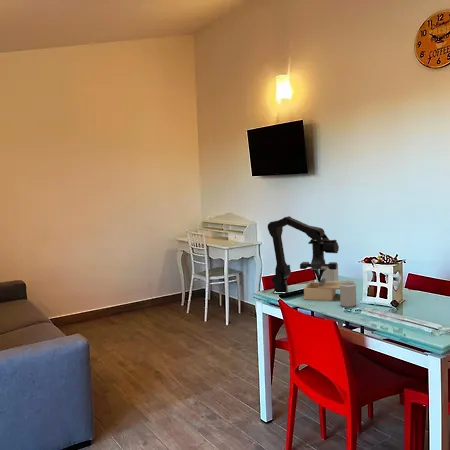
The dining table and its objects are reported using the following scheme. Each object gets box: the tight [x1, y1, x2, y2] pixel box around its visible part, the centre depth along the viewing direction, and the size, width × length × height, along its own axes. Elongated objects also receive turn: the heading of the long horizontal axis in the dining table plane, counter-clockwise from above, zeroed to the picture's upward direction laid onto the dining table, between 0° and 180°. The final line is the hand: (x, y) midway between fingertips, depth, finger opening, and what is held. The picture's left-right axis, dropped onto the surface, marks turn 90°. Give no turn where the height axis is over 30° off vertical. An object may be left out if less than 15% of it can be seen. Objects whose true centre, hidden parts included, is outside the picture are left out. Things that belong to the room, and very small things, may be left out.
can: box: [339, 279, 357, 308], centre depth 230 cm, size 8×8×12 cm
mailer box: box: [303, 281, 337, 302], centre depth 249 cm, size 14×14×6 cm
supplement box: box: [321, 267, 340, 281], centre depth 268 cm, size 7×7×13 cm
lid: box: [318, 278, 341, 290], centre depth 246 cm, size 14×14×3 cm
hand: (319, 281), depth 249 cm, fingers closed
